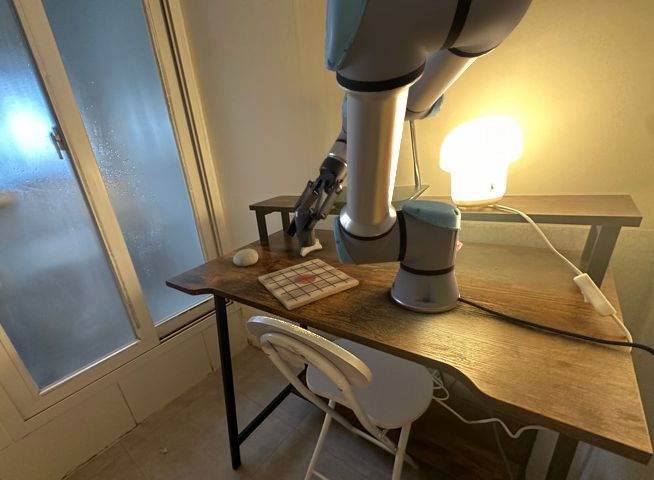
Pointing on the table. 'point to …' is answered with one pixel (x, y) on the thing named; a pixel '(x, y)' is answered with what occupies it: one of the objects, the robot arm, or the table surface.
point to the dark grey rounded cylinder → (300, 219)
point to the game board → (306, 283)
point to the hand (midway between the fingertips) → (294, 236)
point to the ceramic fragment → (311, 248)
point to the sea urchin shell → (245, 257)
